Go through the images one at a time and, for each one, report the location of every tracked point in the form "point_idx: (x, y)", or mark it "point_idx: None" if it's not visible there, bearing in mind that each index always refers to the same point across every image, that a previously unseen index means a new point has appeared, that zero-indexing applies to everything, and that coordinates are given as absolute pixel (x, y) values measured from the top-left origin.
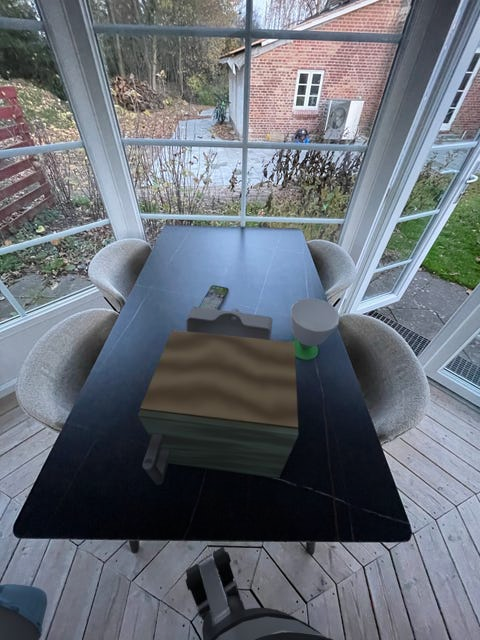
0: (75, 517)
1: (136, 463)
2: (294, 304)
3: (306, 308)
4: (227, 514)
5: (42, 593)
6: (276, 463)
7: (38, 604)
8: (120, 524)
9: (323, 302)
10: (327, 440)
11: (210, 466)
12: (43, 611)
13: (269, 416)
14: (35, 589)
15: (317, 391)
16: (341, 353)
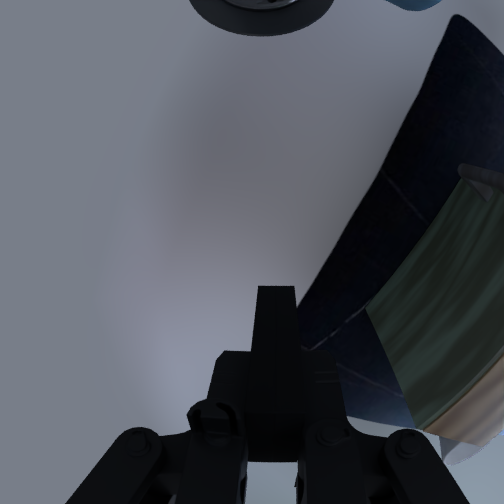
0: (450, 55)
1: (476, 141)
2: None
3: None
4: (370, 227)
5: (425, 8)
6: (390, 335)
7: (418, 2)
8: (425, 96)
9: (469, 456)
10: (358, 375)
11: (431, 234)
12: (404, 4)
13: (462, 405)
14: (434, 3)
15: None
16: (411, 427)
